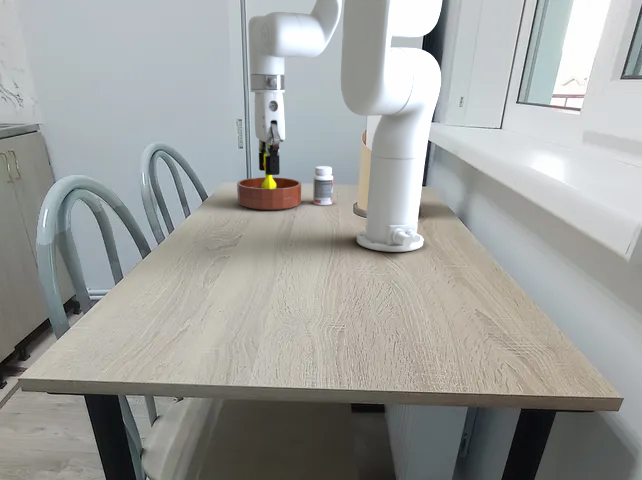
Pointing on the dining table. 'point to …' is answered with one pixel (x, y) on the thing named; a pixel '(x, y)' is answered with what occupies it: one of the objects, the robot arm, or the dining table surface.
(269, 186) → the toy figure
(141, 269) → the dining table surface
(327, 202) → the pill bottle
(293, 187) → the bowl
